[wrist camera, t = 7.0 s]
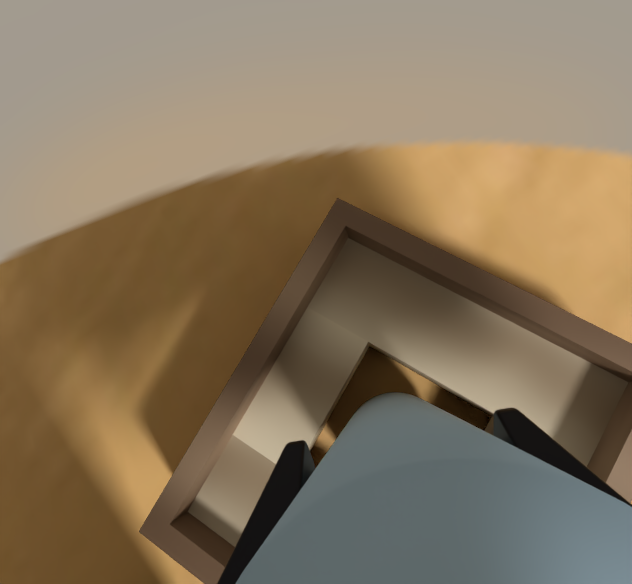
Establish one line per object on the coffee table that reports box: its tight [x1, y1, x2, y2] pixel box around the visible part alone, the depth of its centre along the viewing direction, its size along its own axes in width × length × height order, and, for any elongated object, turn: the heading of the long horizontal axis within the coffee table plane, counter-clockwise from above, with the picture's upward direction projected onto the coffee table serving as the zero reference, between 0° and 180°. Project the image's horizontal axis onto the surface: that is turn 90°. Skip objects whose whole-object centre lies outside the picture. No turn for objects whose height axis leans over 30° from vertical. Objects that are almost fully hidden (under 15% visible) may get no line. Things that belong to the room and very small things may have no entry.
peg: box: [236, 392, 632, 584], centre depth 9 cm, size 4×4×14 cm
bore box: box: [139, 198, 632, 584], centre depth 16 cm, size 14×13×4 cm
